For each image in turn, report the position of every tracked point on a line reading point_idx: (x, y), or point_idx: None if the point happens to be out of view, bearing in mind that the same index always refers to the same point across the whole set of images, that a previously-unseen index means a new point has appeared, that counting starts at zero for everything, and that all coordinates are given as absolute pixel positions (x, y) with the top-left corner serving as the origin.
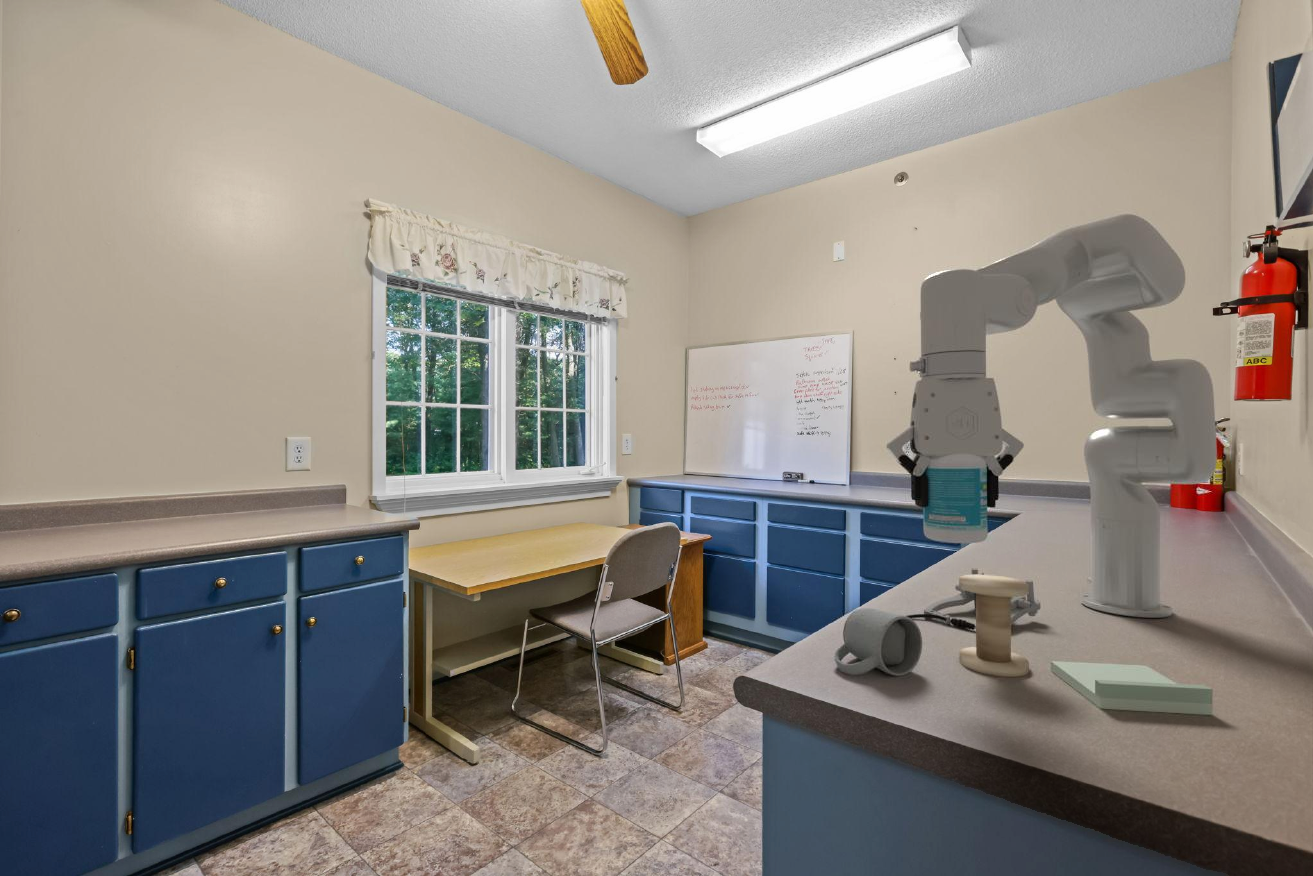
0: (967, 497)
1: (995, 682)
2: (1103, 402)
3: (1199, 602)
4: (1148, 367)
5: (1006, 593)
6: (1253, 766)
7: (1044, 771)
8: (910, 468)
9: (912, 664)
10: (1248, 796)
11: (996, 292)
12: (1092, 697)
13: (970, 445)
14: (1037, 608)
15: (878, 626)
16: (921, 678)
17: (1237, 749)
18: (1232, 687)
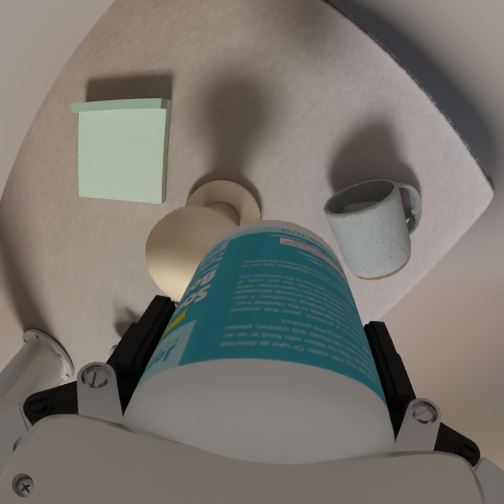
0: (270, 273)
1: (247, 163)
2: None
3: (10, 352)
4: None
5: (199, 207)
6: (125, 15)
7: None
8: (440, 428)
9: (336, 197)
10: None
11: None
12: (168, 114)
13: (197, 500)
14: (115, 345)
15: (397, 204)
16: (332, 176)
17: (113, 40)
18: (41, 172)
